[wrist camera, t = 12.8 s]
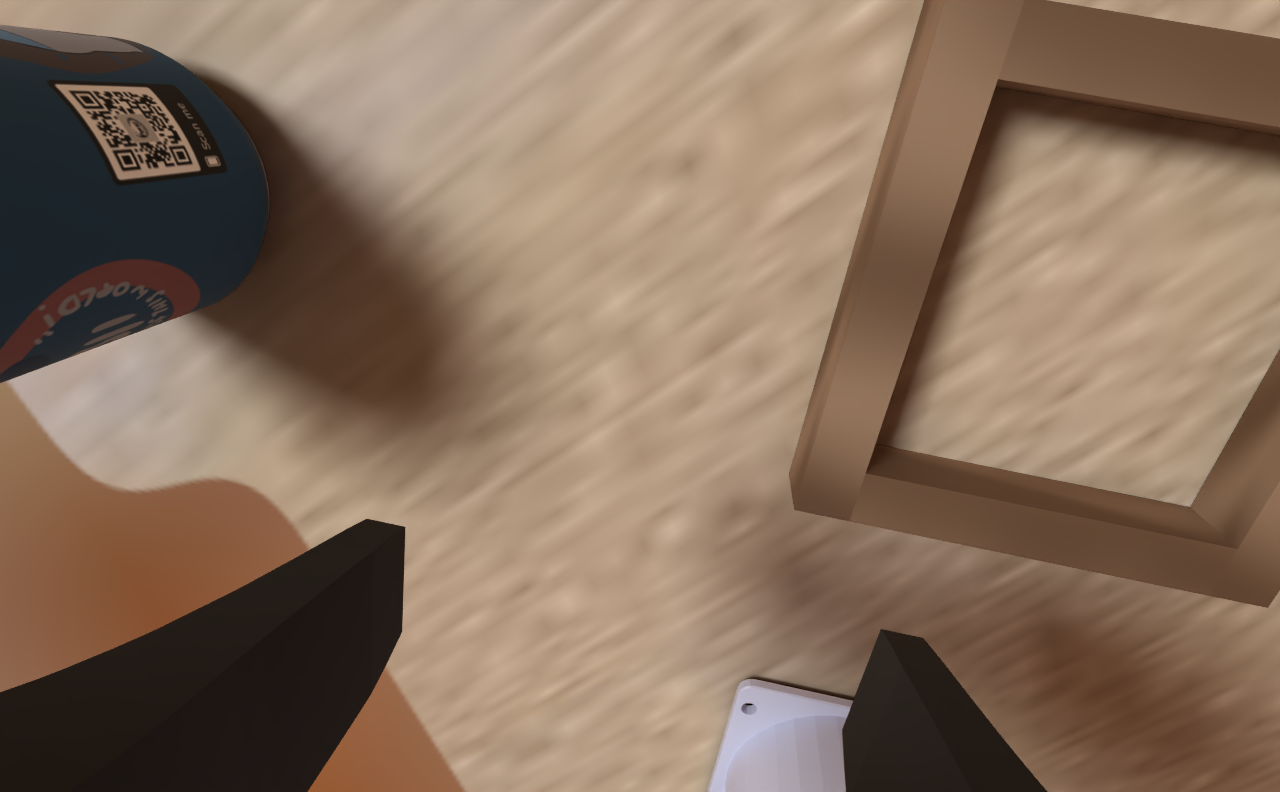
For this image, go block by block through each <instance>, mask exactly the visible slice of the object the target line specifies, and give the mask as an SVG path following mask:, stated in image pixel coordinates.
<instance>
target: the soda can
mask: <svg viewBox="0 0 1280 792" xmlns="http://www.w3.org/2000/svg"><path fill="white" fill-rule="evenodd" d="M268 216H269V189H268V182H267V177H266V173H265V169H264V166H263V163H262V160H261V158H260V155H259V153H258V151H257V149H256V146H255V144H254V143H253V141H252V139H251V137H250V135H249V134H248V132H247V131H246V129H245V128H244V126H243V125H242V124H241V122H240V121H239V120H238V118H237V117H236V116H235V115H234V114H233V112H232V111H231V110H230V109H229V108H228V107H227V106H226V104H225V103H224V102H223V101H222V100H221V99H220V98H219V97H218V96H217V95H216V94H215V93H214V92H213V91H212V90H211V89H210V88H209V87H208V86H207V85H206V84H205V83H204V82H203V81H202V80H200V79H199V78H198V77H197V76H196V75H194V74H193V73H192V72H190V71H189V70H188V69H186V68H185V67H184V66H182V65H181V64H179V63H178V62H176V61H175V60H173V59H171V58H170V57H168V56H166V55H164V54H162V53H160V52H158V51H156V50H154V49H152V48H150V47H147V46H144V45H142V44H139V43H136V42H132V41H129V40H125V39H119V38H114V37H105V36H96V35H87V34H78V33H69V32H60V31H51V30H42V29H33V28H24V27H15V26H6V25H0V383H2V382H4V381H7V380H10V379H12V378H15V377H18V376H21V375H23V374H26V373H29V372H31V371H34V370H37V369H39V368H42V367H45V366H48V365H50V364H53V363H56V362H58V361H61V360H64V359H66V358H69V357H72V356H75V355H77V354H80V353H83V352H85V351H88V350H91V349H93V348H96V347H99V346H101V345H104V344H107V343H110V342H112V341H115V340H118V339H120V338H123V337H126V336H128V335H131V334H134V333H137V332H139V331H142V330H145V329H147V328H150V327H153V326H155V325H158V324H161V323H163V322H166V321H169V320H172V319H174V318H177V317H180V316H182V315H185V314H188V313H190V312H193V311H196V310H199V309H201V308H204V307H207V306H209V305H211V304H214V303H216V302H218V301H219V300H221V299H223V298H224V297H226V296H227V295H228V294H230V293H231V292H232V291H233V290H235V289H236V288H237V287H238V286H239V284H240V283H241V282H242V281H243V280H244V279H245V277H246V276H247V275H248V273H249V272H250V270H251V268H252V267H253V265H254V263H255V261H256V259H257V257H258V254H259V252H260V249H261V246H262V243H263V239H264V236H265V231H266V227H267V222H268Z"/></svg>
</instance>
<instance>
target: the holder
mask: <svg viewBox="0 0 1280 792" xmlns="http://www.w3.org/2000/svg"><path fill="white" fill-rule="evenodd" d="M995 87H999V88H1004V89H1010V90H1016V91H1022V92H1028V93H1033V94H1039V95H1045V96H1051V97H1057V98H1063V99H1068V100H1074V101H1080V102H1086V103H1092V104H1097V105H1103V106H1109V107H1115V108H1121V109H1127V110H1132V111H1138V112H1144V113H1150V114H1156V115H1161V116H1167V117H1173V118H1179V119H1185V120H1190V121H1196V122H1202V123H1208V124H1214V125H1220V126H1225V127H1231V128H1237V129H1243V130H1249V131H1254V132H1260V133H1266V134H1272V135H1278V136H1280V39H1278V38H1272V37H1265V36H1259V35H1253V34H1247V33H1241V32H1235V31H1229V30H1223V29H1217V28H1211V27H1205V26H1199V25H1193V24H1187V23H1181V22H1174V21H1168V20H1162V19H1156V18H1150V17H1144V16H1138V15H1132V14H1126V13H1120V12H1114V11H1108V10H1102V9H1096V8H1090V7H1083V6H1077V5H1071V4H1065V3H1059V2H1053V1H1047V0H924V4H923V7H922V11H921V14H920V18H919V21H918V25H917V28H916V32H915V35H914V39H913V42H912V46H911V49H910V53H909V56H908V60H907V63H906V67H905V70H904V74H903V77H902V81H901V84H900V88H899V91H898V95H897V98H896V102H895V105H894V109H893V112H892V116H891V119H890V123H889V126H888V130H887V133H886V137H885V140H884V144H883V147H882V151H881V154H880V158H879V161H878V165H877V168H876V172H875V175H874V179H873V182H872V186H871V189H870V193H869V196H868V200H867V203H866V207H865V210H864V214H863V217H862V221H861V224H860V228H859V231H858V235H857V238H856V242H855V245H854V249H853V252H852V256H851V259H850V263H849V266H848V270H847V273H846V277H845V280H844V284H843V287H842V291H841V294H840V298H839V301H838V305H837V308H836V312H835V315H834V319H833V322H832V326H831V329H830V333H829V336H828V340H827V343H826V347H825V350H824V354H823V357H822V361H821V364H820V368H819V371H818V375H817V378H816V382H815V385H814V389H813V392H812V396H811V399H810V403H809V406H808V410H807V413H806V417H805V420H804V424H803V427H802V431H801V434H800V438H799V441H798V445H797V448H796V452H795V455H794V459H793V462H792V466H791V469H790V473H789V477H790V483H791V490H792V497H793V504H794V510H798V511H803V512H807V513H812V514H817V515H822V516H827V517H832V518H836V519H841V520H846V521H851V522H856V523H861V524H865V525H870V526H875V527H880V528H885V529H890V530H894V531H899V532H904V533H909V534H914V535H919V536H923V537H928V538H933V539H938V540H943V541H948V542H952V543H957V544H962V545H967V546H972V547H977V548H981V549H986V550H991V551H996V552H1001V553H1006V554H1010V555H1015V556H1020V557H1025V558H1030V559H1035V560H1039V561H1044V562H1049V563H1054V564H1059V565H1064V566H1068V567H1073V568H1078V569H1083V570H1088V571H1093V572H1097V573H1102V574H1107V575H1112V576H1117V577H1122V578H1126V579H1131V580H1136V581H1141V582H1146V583H1151V584H1155V585H1160V586H1165V587H1170V588H1175V589H1180V590H1184V591H1189V592H1194V593H1199V594H1204V595H1209V596H1213V597H1218V598H1223V599H1228V600H1233V601H1237V602H1242V603H1247V604H1252V605H1257V606H1262V607H1266V608H1268V607H1269V605H1270V604H1271V602H1272V601H1273V599H1274V598H1275V596H1276V595H1277V593H1278V592H1279V590H1280V350H1279V352H1278V354H1277V355H1276V357H1275V359H1274V361H1273V363H1272V364H1271V366H1270V368H1269V370H1268V371H1267V373H1266V375H1265V377H1264V378H1263V380H1262V382H1261V384H1260V386H1259V387H1258V389H1257V391H1256V393H1255V394H1254V396H1253V398H1252V400H1251V401H1250V403H1249V405H1248V407H1247V409H1246V410H1245V412H1244V414H1243V416H1242V417H1241V419H1240V421H1239V423H1238V424H1237V426H1236V428H1235V430H1234V432H1233V433H1232V435H1231V437H1230V439H1229V440H1228V442H1227V444H1226V446H1225V447H1224V449H1223V451H1222V453H1221V455H1220V456H1219V458H1218V460H1217V462H1216V463H1215V465H1214V467H1213V469H1212V470H1211V472H1210V474H1209V476H1208V478H1207V479H1206V481H1205V483H1204V485H1203V486H1202V488H1201V490H1200V492H1199V493H1198V495H1197V497H1196V499H1195V501H1194V502H1193V504H1192V506H1191V508H1190V507H1185V506H1180V505H1175V504H1170V503H1165V502H1160V501H1155V500H1150V499H1145V498H1141V497H1136V496H1131V495H1126V494H1121V493H1116V492H1111V491H1106V490H1101V489H1096V488H1091V487H1086V486H1081V485H1076V484H1071V483H1066V482H1061V481H1056V480H1051V479H1046V478H1041V477H1036V476H1031V475H1026V474H1021V473H1016V472H1011V471H1006V470H1001V469H996V468H991V467H986V466H981V465H976V464H971V463H966V462H961V461H956V460H951V459H946V458H941V457H936V456H931V455H926V454H921V453H916V452H911V451H906V450H901V449H896V448H891V447H886V446H881V445H876V441H877V438H878V435H879V432H880V429H881V426H882V423H883V420H884V417H885V414H886V411H887V408H888V405H889V402H890V399H891V396H892V393H893V390H894V387H895V384H896V381H897V378H898V375H899V372H900V369H901V366H902V363H903V360H904V358H905V355H906V352H907V349H908V346H909V343H910V340H911V337H912V334H913V331H914V328H915V325H916V322H917V319H918V316H919V313H920V310H921V307H922V304H923V301H924V298H925V295H926V292H927V289H928V286H929V283H930V280H931V277H932V274H933V271H934V268H935V265H936V262H937V259H938V256H939V253H940V250H941V247H942V244H943V241H944V239H945V236H946V233H947V230H948V227H949V224H950V221H951V218H952V215H953V212H954V209H955V206H956V203H957V200H958V197H959V194H960V191H961V188H962V185H963V182H964V179H965V176H966V173H967V170H968V167H969V164H970V161H971V158H972V155H973V152H974V149H975V146H976V143H977V140H978V137H979V134H980V131H981V128H982V125H983V123H984V120H985V117H986V114H987V111H988V108H989V105H990V102H991V99H992V96H993V93H994V90H995Z"/></svg>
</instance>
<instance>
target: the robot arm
mask: <svg viewBox="0 0 1280 792" xmlns="http://www.w3.org/2000/svg"><path fill="white" fill-rule="evenodd" d="M404 552H405V527H403V526H398V525H394V524H389V523H384V522H380V521H375V520H370V519H365V520H363V521H362V522H360V523H358V524H356V525H354V526H352V527H350V528H348V529H346V530H345V531H343V532H341V533H339V534H337V535H335V536H334V537H332V538H330V539H328V540H327V541H325V542H323V543H321V544H319V545H318V546H316V547H314V548H312V549H311V550H309V551H307V552H305V553H304V554H302V555H300V556H298V557H296V558H294V559H293V560H291V561H289V562H287V563H285V564H284V565H282V566H280V567H278V568H276V569H274V570H272V571H271V572H269V573H267V574H265V575H263V576H262V577H260V578H258V579H256V580H254V581H252V582H250V583H249V584H247V585H245V586H243V587H241V588H239V589H237V590H235V591H233V592H231V593H229V594H227V595H225V596H224V597H221V598H219V599H217V600H215V601H213V602H211V603H209V604H207V605H205V606H203V607H201V608H199V609H197V610H195V611H193V612H191V613H189V614H187V615H185V616H183V617H181V618H179V619H177V620H175V621H173V622H171V623H169V624H167V625H165V626H163V627H161V628H159V629H157V630H154V631H152V632H150V633H148V634H145V635H143V636H141V637H139V638H137V639H134V640H132V641H130V642H127V643H125V644H123V645H121V646H118V647H116V648H114V649H111V650H109V651H107V652H104V653H102V654H99V655H97V656H94V657H92V658H90V659H87V660H85V661H82V662H80V663H77V664H75V665H72V666H70V667H68V668H65V669H63V670H61V671H58V672H55V673H52V674H50V675H47V676H45V677H42V678H40V679H37V680H34V681H31V682H28V683H25V684H23V685H20V686H17V687H14V688H11V689H9V690H6V691H3V692H0V792H308V790H309V789H310V787H311V785H312V784H313V782H314V781H315V779H316V778H317V776H318V775H319V773H320V772H321V770H322V769H323V767H324V766H325V764H326V762H327V761H328V760H329V758H330V757H331V755H332V753H333V752H334V751H335V749H336V748H337V746H338V745H339V743H340V741H341V740H342V738H343V737H344V735H345V734H346V732H347V731H348V729H349V728H350V726H351V724H352V723H353V721H354V720H355V718H356V717H357V715H358V714H359V712H360V711H361V709H362V707H363V706H364V704H365V703H366V701H367V700H368V698H369V696H370V695H371V693H372V691H373V689H374V687H375V685H376V684H377V682H378V680H379V678H380V676H381V674H382V672H383V670H384V668H385V666H386V664H387V662H388V660H389V658H390V656H391V654H392V652H393V649H394V647H395V645H396V643H397V641H398V639H399V637H400V635H401V633H402V616H403V584H404ZM745 703H752V704H754V705H745ZM707 792H1047V791H1046V790H1045V788H1044V787H1043V786H1042V785H1041V784H1040V783H1039V781H1038V780H1037V779H1036V778H1035V777H1034V775H1033V774H1032V773H1031V772H1030V771H1029V769H1028V768H1027V767H1026V766H1025V765H1024V763H1023V762H1022V761H1021V760H1020V759H1019V757H1018V756H1017V755H1016V754H1015V753H1014V751H1013V750H1012V749H1011V748H1010V746H1009V745H1008V744H1007V743H1006V741H1005V740H1004V739H1003V738H1002V737H1001V735H1000V734H999V733H998V732H997V730H996V729H995V728H994V727H993V725H992V724H991V723H990V722H989V720H988V719H987V718H986V717H985V715H984V714H983V713H982V711H981V710H980V709H979V708H978V706H977V705H976V704H975V703H974V701H973V700H972V699H971V697H970V696H969V695H968V694H967V692H966V691H965V690H964V689H963V687H962V686H961V685H960V683H959V682H958V681H957V680H956V678H955V677H954V676H953V675H952V673H951V672H950V671H949V669H948V668H947V667H946V666H945V664H944V663H943V662H942V661H941V659H940V658H939V657H938V656H937V654H936V653H935V652H934V651H933V649H932V648H931V647H930V646H929V645H928V643H927V642H926V641H925V640H924V639H923V638H920V637H915V636H911V635H906V634H901V633H897V632H892V631H887V630H883V629H881V630H880V633H879V636H878V638H877V641H876V643H875V646H874V648H873V651H872V654H871V656H870V659H869V661H868V664H867V667H866V669H865V672H864V674H863V677H862V680H861V682H860V685H859V687H858V690H857V692H856V695H855V698H854V700H853V701H852V700H847V699H843V698H838V697H834V696H829V695H824V694H820V693H815V692H811V691H806V690H802V689H797V688H793V687H788V686H784V685H779V684H775V683H770V682H766V681H761V680H756V679H747V680H744V681H742V682H741V683H740V684H739V685H738V687H737V691H736V694H735V697H734V701H733V704H732V708H731V711H730V715H729V718H728V721H727V725H726V728H725V732H724V735H723V738H722V742H721V745H720V749H719V752H718V756H717V759H716V762H715V766H714V769H713V773H712V776H711V779H710V783H709V786H708V790H707Z"/></svg>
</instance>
